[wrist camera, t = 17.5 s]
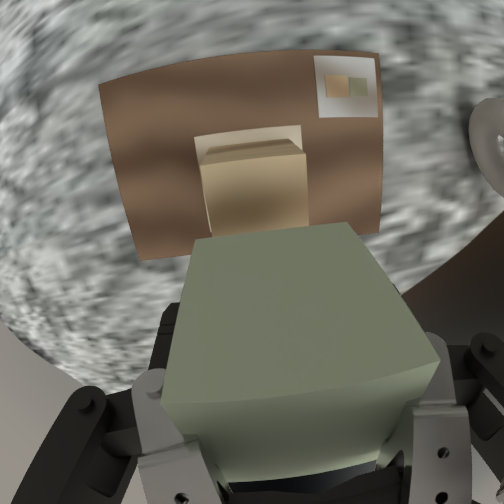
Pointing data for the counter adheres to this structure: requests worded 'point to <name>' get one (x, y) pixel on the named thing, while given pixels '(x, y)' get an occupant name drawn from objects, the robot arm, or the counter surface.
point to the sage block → (292, 353)
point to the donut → (488, 140)
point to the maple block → (255, 187)
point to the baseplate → (244, 136)
